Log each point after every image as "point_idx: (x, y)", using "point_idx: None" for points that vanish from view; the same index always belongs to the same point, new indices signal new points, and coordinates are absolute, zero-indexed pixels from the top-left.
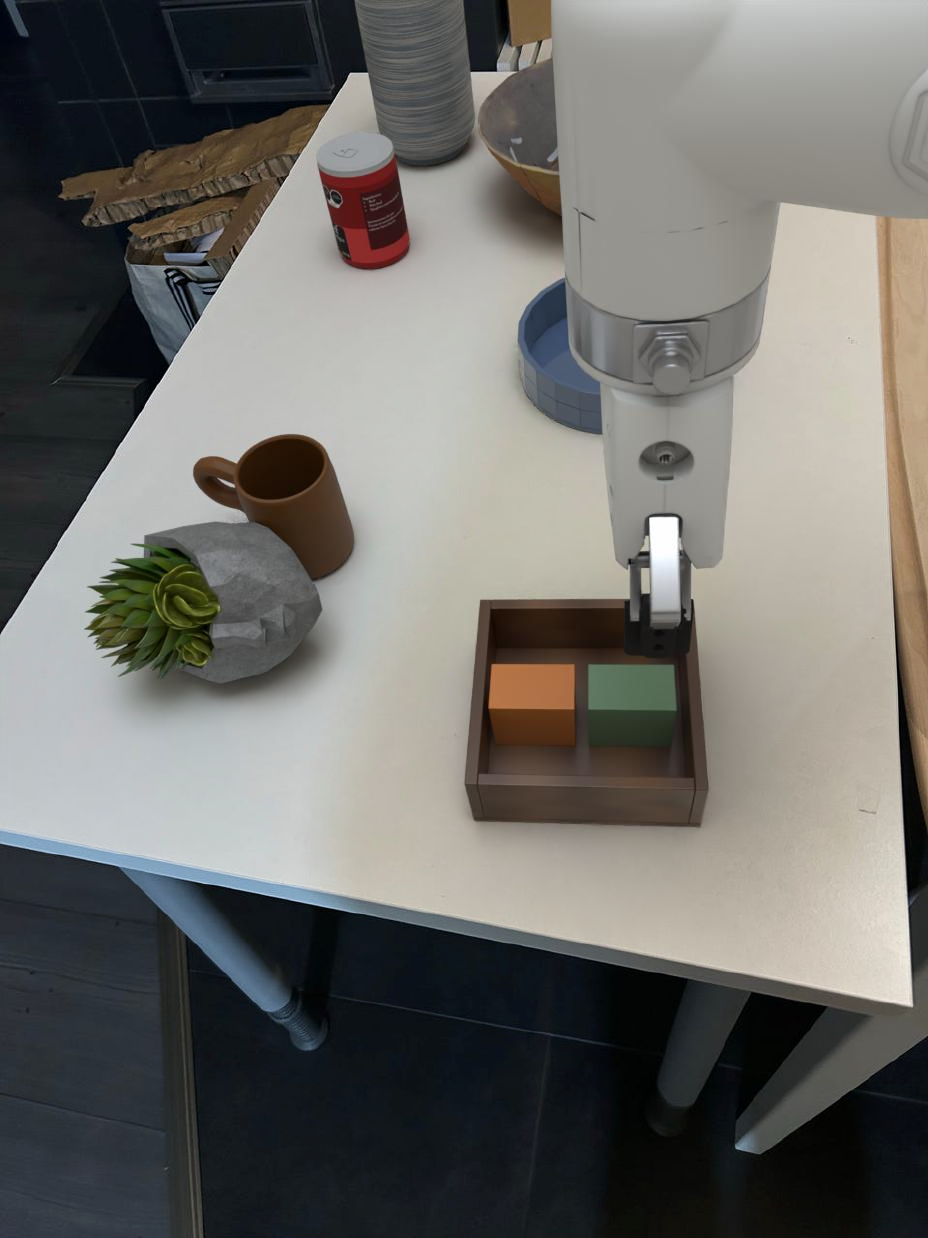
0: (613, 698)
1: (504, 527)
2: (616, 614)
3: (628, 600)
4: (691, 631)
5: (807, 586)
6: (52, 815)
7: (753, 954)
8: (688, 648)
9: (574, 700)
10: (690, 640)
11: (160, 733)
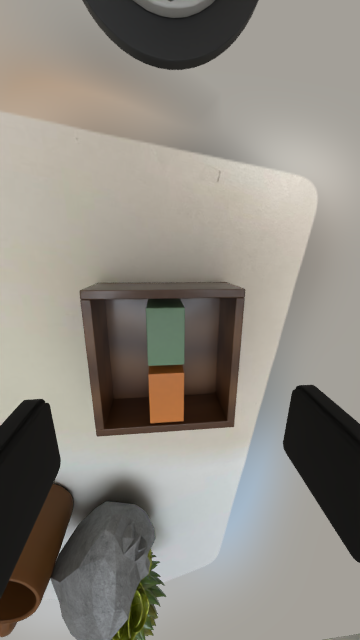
0: (175, 349)
1: (8, 402)
2: (97, 345)
3: (356, 560)
4: (352, 418)
5: (29, 184)
6: (212, 550)
7: (295, 259)
8: (318, 390)
9: (177, 372)
10: (333, 402)
11: (173, 529)
